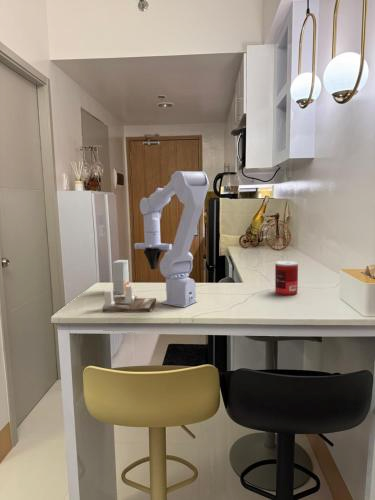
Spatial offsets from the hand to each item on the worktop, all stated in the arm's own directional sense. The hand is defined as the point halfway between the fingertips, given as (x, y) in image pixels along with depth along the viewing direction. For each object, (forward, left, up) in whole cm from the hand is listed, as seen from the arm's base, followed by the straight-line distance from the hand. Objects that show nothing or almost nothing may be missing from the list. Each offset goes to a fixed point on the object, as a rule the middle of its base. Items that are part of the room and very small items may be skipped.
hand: (153, 268), depth 134 cm
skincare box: (+13, +4, -10) cm, 17 cm away
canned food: (-41, -24, -10) cm, 48 cm away
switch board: (-3, +16, -9) cm, 19 cm away
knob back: (-1, +14, -8) cm, 16 cm away
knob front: (+1, +22, -8) cm, 23 cm away
